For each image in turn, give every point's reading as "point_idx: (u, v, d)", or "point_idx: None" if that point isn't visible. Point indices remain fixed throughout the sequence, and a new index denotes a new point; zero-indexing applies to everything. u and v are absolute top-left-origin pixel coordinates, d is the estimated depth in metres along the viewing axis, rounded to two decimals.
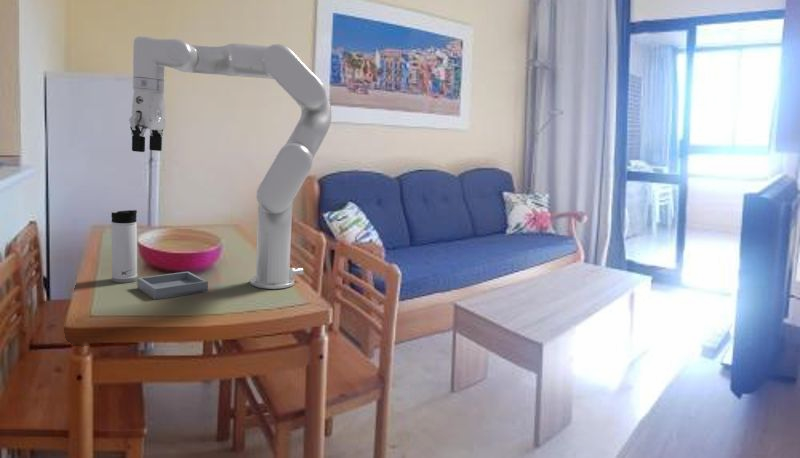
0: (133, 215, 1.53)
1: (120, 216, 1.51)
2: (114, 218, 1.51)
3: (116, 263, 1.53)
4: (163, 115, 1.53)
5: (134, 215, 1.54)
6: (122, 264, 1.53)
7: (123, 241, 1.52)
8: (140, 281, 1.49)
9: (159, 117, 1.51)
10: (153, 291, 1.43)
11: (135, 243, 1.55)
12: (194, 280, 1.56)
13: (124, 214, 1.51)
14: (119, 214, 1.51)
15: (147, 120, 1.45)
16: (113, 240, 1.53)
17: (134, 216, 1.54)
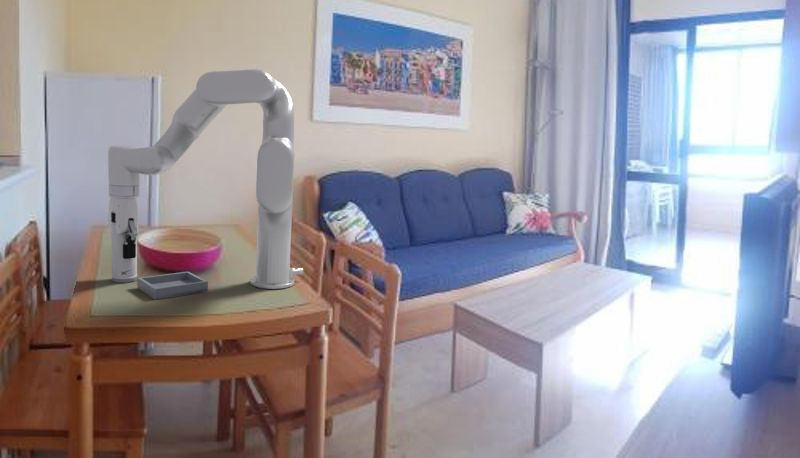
0: None
1: None
2: (114, 218, 1.51)
3: (116, 263, 1.53)
4: (118, 220, 1.50)
5: None
6: (122, 264, 1.53)
7: (122, 242, 1.52)
8: (140, 281, 1.49)
9: None
10: (153, 291, 1.43)
11: None
12: (194, 280, 1.56)
13: None
14: None
15: None
16: (113, 240, 1.53)
17: None
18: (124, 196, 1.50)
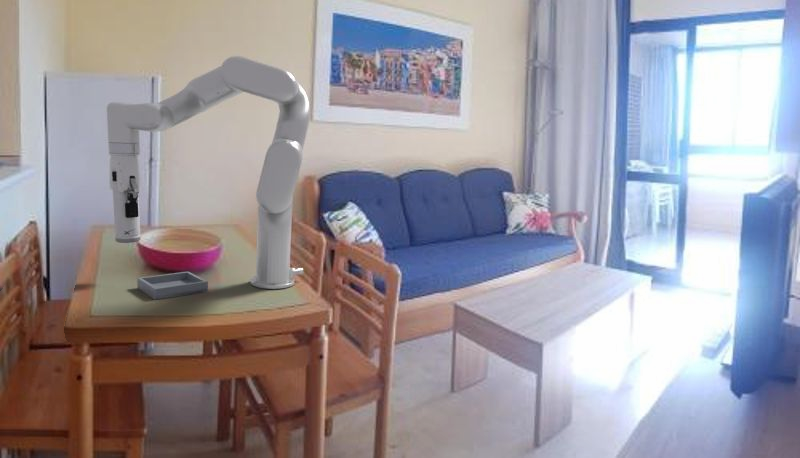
0: None
1: None
2: (115, 177, 1.49)
3: (119, 223, 1.51)
4: (119, 178, 1.48)
5: None
6: (125, 224, 1.51)
7: (124, 200, 1.50)
8: (140, 281, 1.49)
9: None
10: (153, 291, 1.43)
11: None
12: (194, 280, 1.56)
13: None
14: None
15: None
16: (115, 199, 1.51)
17: None
18: (124, 153, 1.48)
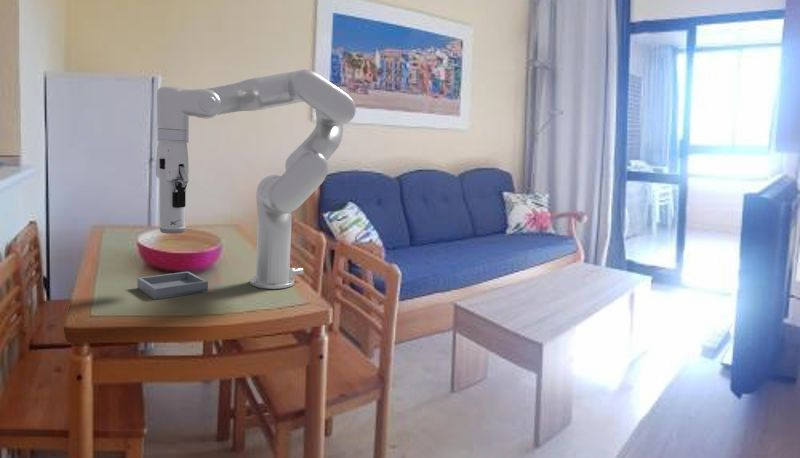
0: None
1: None
2: (163, 164, 1.43)
3: (165, 213, 1.45)
4: (167, 165, 1.42)
5: None
6: (171, 214, 1.45)
7: (172, 189, 1.44)
8: (140, 281, 1.49)
9: None
10: (153, 291, 1.43)
11: None
12: (194, 280, 1.56)
13: None
14: None
15: None
16: (162, 188, 1.44)
17: None
18: (174, 140, 1.42)
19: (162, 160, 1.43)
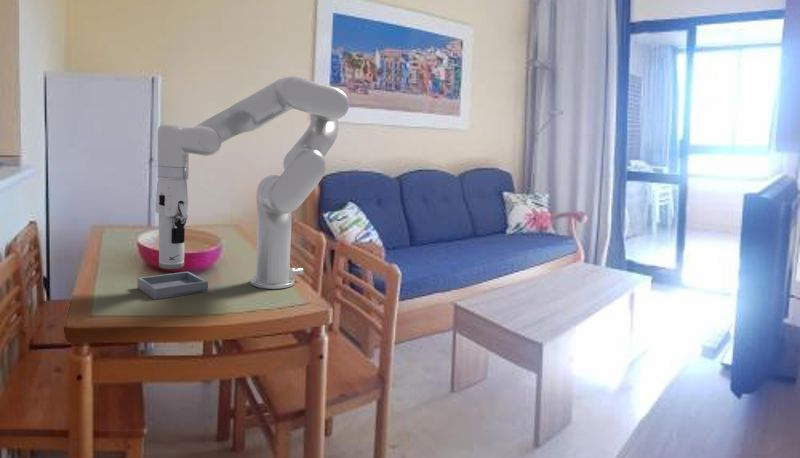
0: None
1: None
2: (162, 201, 1.45)
3: (164, 248, 1.47)
4: (167, 202, 1.43)
5: None
6: (170, 249, 1.47)
7: (171, 225, 1.46)
8: (140, 281, 1.49)
9: None
10: (153, 291, 1.43)
11: None
12: (194, 280, 1.56)
13: None
14: None
15: None
16: (161, 224, 1.46)
17: None
18: (174, 178, 1.43)
19: (162, 197, 1.44)
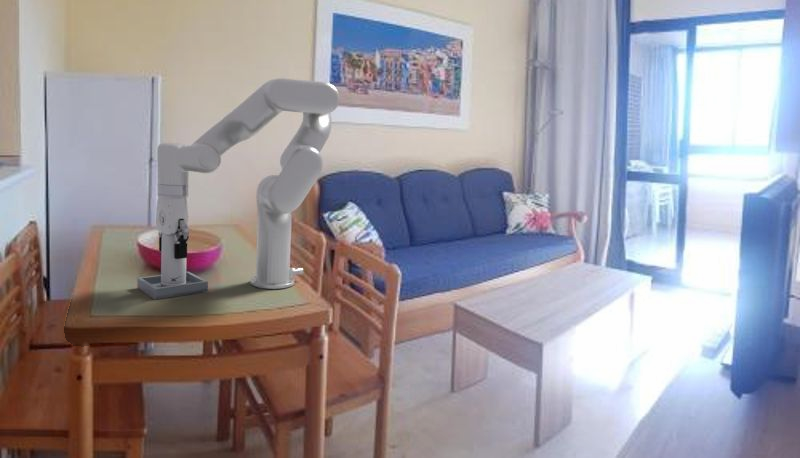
0: None
1: None
2: None
3: (166, 270, 1.48)
4: (167, 220, 1.44)
5: None
6: (172, 271, 1.48)
7: (173, 247, 1.47)
8: (140, 281, 1.49)
9: None
10: (153, 291, 1.43)
11: None
12: (194, 280, 1.56)
13: None
14: None
15: None
16: (163, 245, 1.47)
17: None
18: (174, 196, 1.44)
19: None
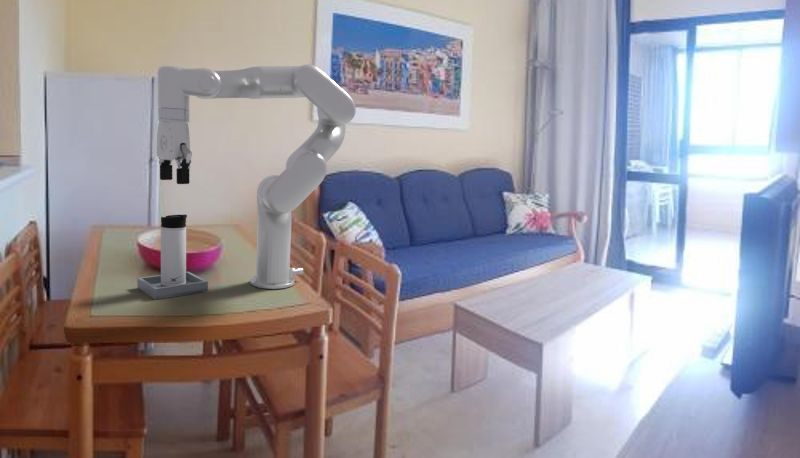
0: (183, 220, 1.48)
1: (170, 221, 1.45)
2: (164, 223, 1.46)
3: (166, 270, 1.48)
4: (169, 144, 1.43)
5: (184, 220, 1.48)
6: (172, 271, 1.48)
7: (173, 247, 1.47)
8: (140, 281, 1.49)
9: (165, 147, 1.44)
10: (153, 291, 1.43)
11: (185, 249, 1.50)
12: (194, 280, 1.56)
13: (175, 219, 1.46)
14: (169, 219, 1.45)
15: None
16: (163, 246, 1.47)
17: (184, 221, 1.48)
18: (175, 119, 1.42)
19: (163, 219, 1.46)
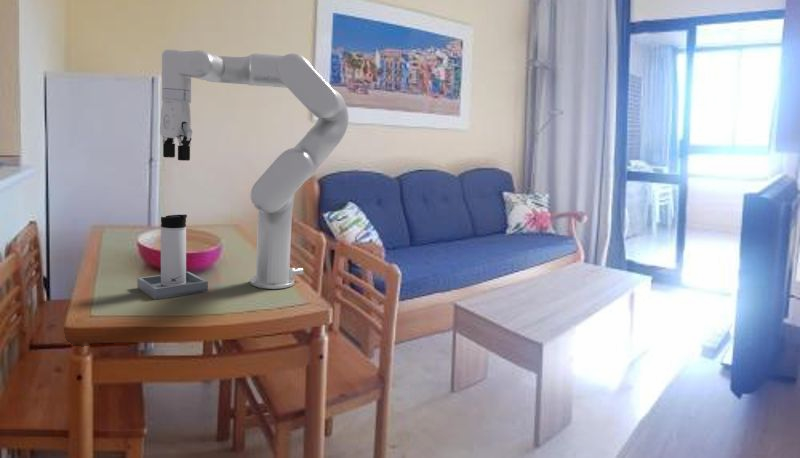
0: (183, 220, 1.48)
1: (170, 221, 1.45)
2: (164, 223, 1.46)
3: (166, 270, 1.48)
4: (171, 123, 1.52)
5: (184, 220, 1.48)
6: (172, 271, 1.48)
7: (173, 247, 1.47)
8: (140, 281, 1.49)
9: (167, 125, 1.54)
10: (153, 291, 1.43)
11: (185, 249, 1.50)
12: (194, 280, 1.56)
13: (174, 219, 1.46)
14: (169, 219, 1.45)
15: None
16: (163, 246, 1.47)
17: (184, 221, 1.48)
18: (177, 99, 1.52)
19: (163, 219, 1.46)
